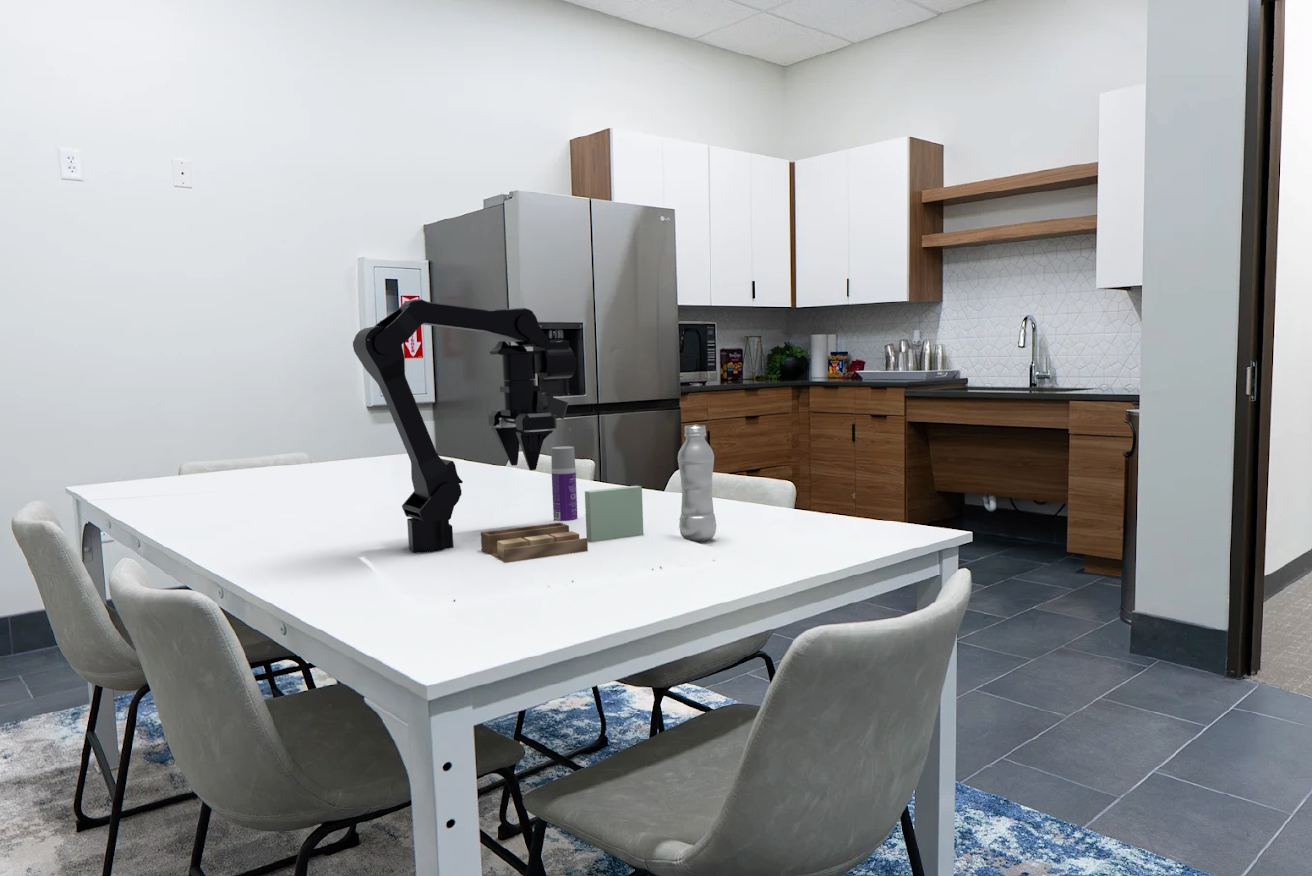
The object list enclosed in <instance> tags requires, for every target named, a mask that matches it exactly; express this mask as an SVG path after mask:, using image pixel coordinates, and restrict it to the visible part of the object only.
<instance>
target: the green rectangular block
mask: <svg viewBox="0 0 1312 876" xmlns="http://www.w3.org/2000/svg"><path fill="white" fill-rule="evenodd" d="M584 504H585V505H584V506H585V507H584V508H585V526H586V527H585V529H586V533H585V534H586V538H587V542H589V543H595V542H603V541H605V542H606V541H612V540H619V539H627V538H633V537H641V536H644V512H643V511H644V510H643V508H644V507H643V505H644V504H643V487H642V486H641V485H631V486H630V485H629V486H621V487H620V486H619V487H610V488H602V489H594V490H593V489H592V490H584Z"/></svg>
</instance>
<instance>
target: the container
mask: <svg viewBox="0 0 1312 876" xmlns="http://www.w3.org/2000/svg"><path fill="white" fill-rule="evenodd" d="M550 450H551V451H550V454H551V455H550V457H551V489H552V491H551V492H552V513H553V514H552V515H553V521H554V522H555V521H557V522H564V521H565V522H567V521H568V522H570V521H571V522H572V521H575V520H578V518H579V517H578V495H577V473H576V457H575V456H576V455H575V447H574V446H572V445H571V446H567V445H566V446H555V447H554V446H553V447H551V448H550Z"/></svg>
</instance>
